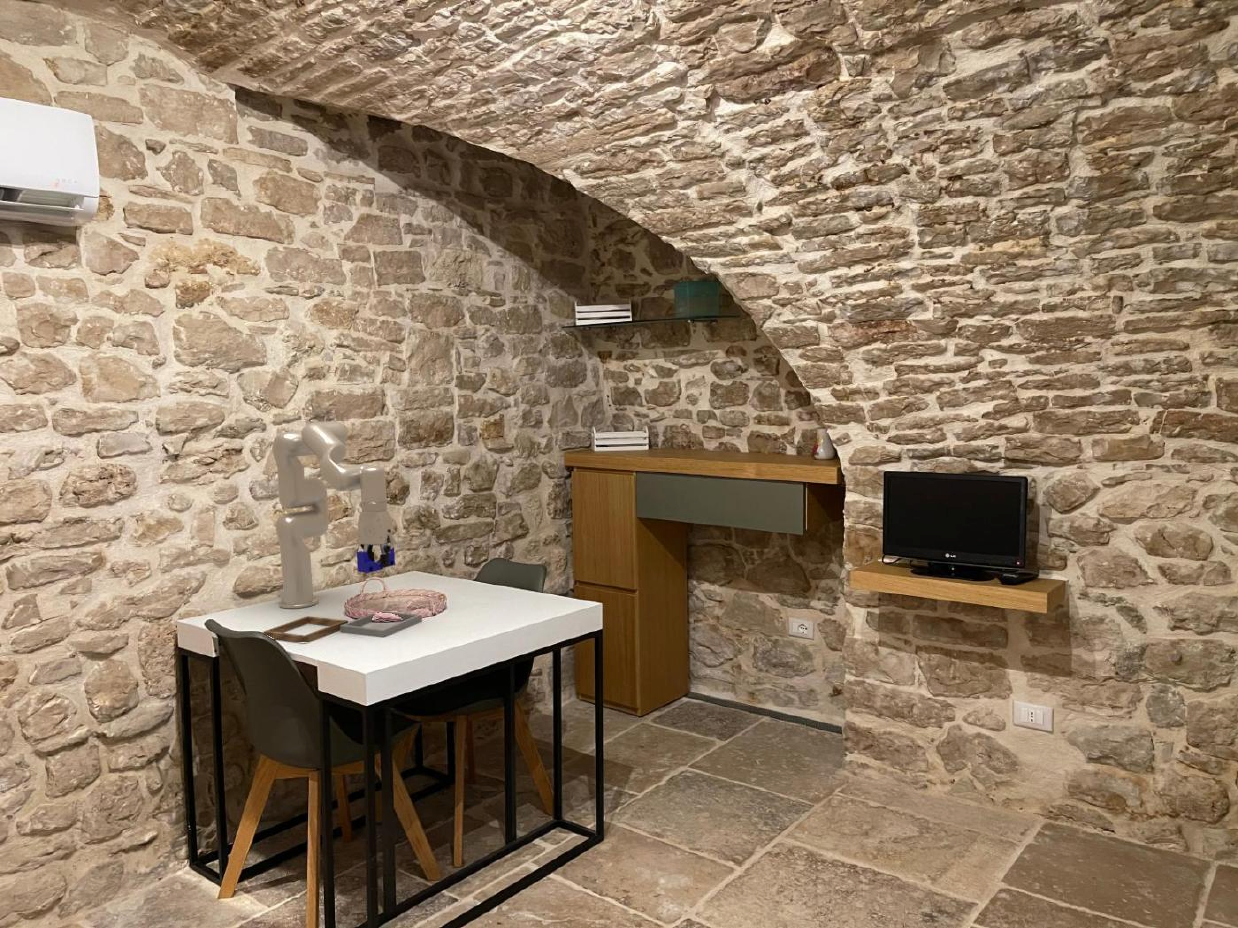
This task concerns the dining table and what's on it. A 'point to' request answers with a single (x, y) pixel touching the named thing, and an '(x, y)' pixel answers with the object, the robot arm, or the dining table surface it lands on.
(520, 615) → the dining table surface
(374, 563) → the blue notched cradle block
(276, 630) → the walnut holder
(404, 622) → the tray
